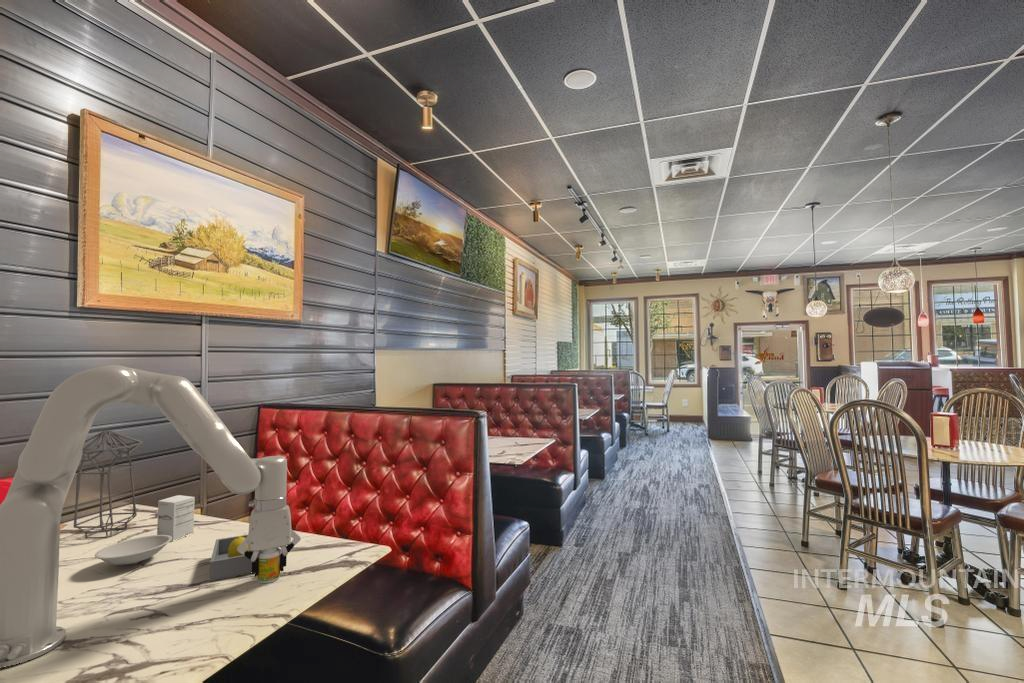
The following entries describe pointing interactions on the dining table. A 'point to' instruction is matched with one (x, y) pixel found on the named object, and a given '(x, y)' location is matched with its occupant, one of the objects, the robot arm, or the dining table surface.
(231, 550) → the lemon
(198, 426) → the robot arm
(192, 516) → the supplement box
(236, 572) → the tote
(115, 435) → the geometric lantern
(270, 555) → the supplement bottle
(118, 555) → the dish
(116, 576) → the dining table surface
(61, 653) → the dining table surface
